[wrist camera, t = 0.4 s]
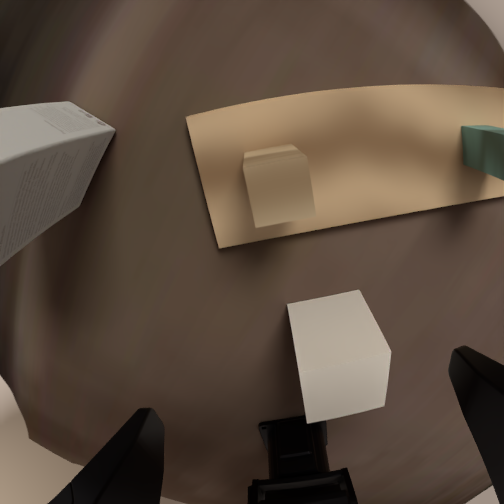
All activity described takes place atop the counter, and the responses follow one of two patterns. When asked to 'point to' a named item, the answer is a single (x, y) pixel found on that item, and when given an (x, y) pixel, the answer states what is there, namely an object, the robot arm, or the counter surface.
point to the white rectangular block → (339, 356)
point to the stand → (346, 157)
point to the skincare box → (44, 167)
